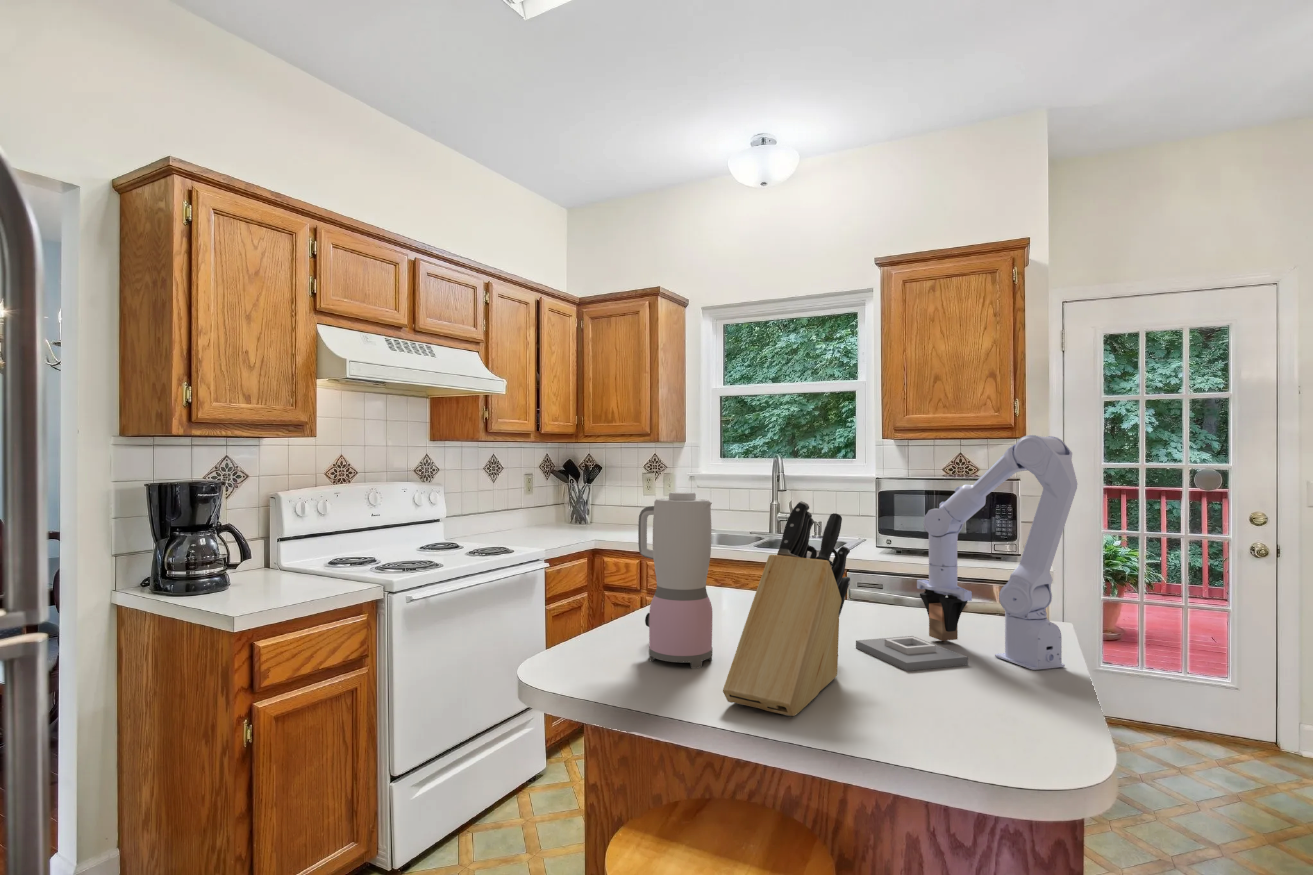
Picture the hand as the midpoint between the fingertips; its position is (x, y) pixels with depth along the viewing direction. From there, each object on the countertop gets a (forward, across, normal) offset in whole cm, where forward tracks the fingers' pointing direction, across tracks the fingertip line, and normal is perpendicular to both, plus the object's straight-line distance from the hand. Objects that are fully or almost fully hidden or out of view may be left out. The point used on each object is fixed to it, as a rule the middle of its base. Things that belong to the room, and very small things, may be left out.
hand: (943, 628), depth 148 cm
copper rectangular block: (+2, 0, 0) cm, 2 cm away
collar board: (+3, +7, -14) cm, 16 cm away
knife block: (+3, +16, -45) cm, 48 cm away
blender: (+3, -4, -60) cm, 60 cm away
